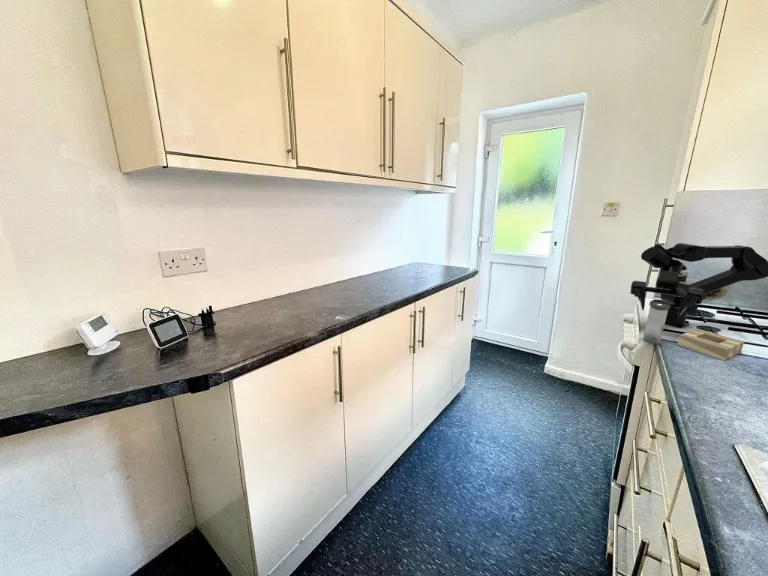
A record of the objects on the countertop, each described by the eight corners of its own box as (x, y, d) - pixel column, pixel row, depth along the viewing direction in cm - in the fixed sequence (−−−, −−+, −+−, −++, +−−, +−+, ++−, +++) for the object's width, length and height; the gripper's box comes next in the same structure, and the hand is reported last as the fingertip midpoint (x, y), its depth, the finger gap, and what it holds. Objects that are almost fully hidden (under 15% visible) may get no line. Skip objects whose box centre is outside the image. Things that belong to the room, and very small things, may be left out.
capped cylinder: (652, 337, 106) (661, 300, 102) (665, 343, 101) (674, 305, 97) (637, 337, 106) (645, 301, 102) (649, 344, 101) (658, 306, 97)
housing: (694, 338, 105) (697, 328, 104) (741, 352, 95) (744, 341, 94) (677, 345, 100) (679, 335, 99) (724, 360, 90) (727, 349, 90)
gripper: (637, 258, 111) (626, 295, 106) (712, 265, 99) (704, 307, 94) (635, 275, 118) (625, 310, 114) (704, 284, 106) (696, 323, 102)
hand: (660, 312), depth 106 cm, fingers open, 9 cm apart
